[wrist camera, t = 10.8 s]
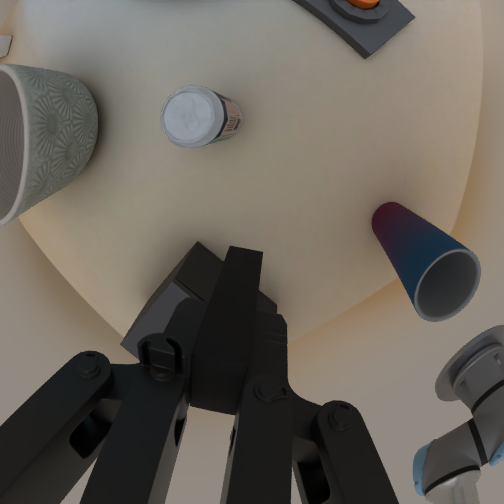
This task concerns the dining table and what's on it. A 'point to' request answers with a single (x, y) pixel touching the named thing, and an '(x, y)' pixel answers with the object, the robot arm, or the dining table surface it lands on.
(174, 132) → the beer can
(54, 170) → the planter
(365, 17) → the control block
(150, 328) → the dark grey square slab
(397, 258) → the cup
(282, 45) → the dining table surface
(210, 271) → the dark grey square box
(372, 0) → the button
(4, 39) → the pepper shaker
